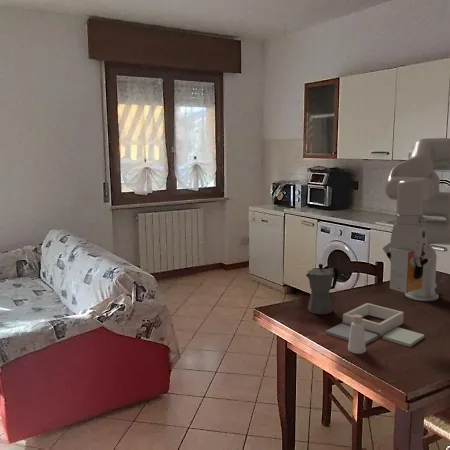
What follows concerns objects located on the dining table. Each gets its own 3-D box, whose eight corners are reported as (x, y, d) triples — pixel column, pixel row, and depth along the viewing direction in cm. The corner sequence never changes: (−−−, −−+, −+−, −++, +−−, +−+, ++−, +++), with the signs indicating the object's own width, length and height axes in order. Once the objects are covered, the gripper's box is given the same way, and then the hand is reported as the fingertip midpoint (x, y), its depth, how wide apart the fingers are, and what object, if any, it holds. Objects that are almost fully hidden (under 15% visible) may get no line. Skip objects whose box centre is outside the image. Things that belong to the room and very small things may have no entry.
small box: (406, 293, 145) (408, 252, 142) (389, 288, 150) (390, 248, 148) (422, 288, 149) (424, 248, 147) (405, 283, 154) (406, 244, 152)
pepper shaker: (349, 345, 148) (350, 311, 146) (367, 348, 145) (368, 314, 144) (345, 352, 143) (346, 317, 141) (364, 355, 141) (365, 320, 139)
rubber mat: (397, 330, 159) (397, 327, 159) (424, 337, 152) (424, 334, 152) (382, 338, 152) (382, 335, 152) (409, 347, 146) (409, 344, 145)
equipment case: (366, 313, 175) (367, 302, 174) (403, 323, 165) (403, 312, 164) (325, 333, 157) (325, 322, 156) (363, 346, 147) (364, 333, 146)
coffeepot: (314, 317, 172) (315, 269, 168) (298, 310, 180) (298, 263, 177) (346, 309, 179) (347, 263, 176) (329, 302, 187) (330, 258, 184)
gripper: (442, 221, 142) (439, 278, 145) (388, 215, 154) (386, 268, 157) (432, 224, 137) (428, 284, 140) (376, 218, 149) (374, 273, 152)
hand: (406, 275), depth 149 cm, fingers closed on small box, 6 cm apart
